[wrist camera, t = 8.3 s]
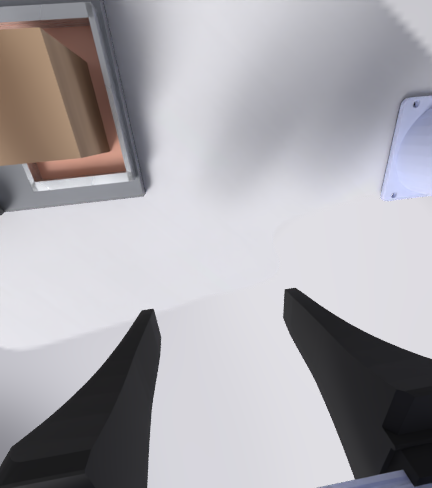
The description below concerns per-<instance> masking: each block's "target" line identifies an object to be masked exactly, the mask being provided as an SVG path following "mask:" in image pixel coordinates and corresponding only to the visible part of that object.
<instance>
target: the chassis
mask: <svg viewBox="0 0 432 488" xmlns="http://www.w3.org/2000/svg"><path fill="white" fill-rule="evenodd" d="M35 27H40V28H41V29H43V30H44V31H45V32H47V33H48V34H49V35H51V36H52V37H53V38H55V39H56V40H58V41H59V42H60V43H62V44H63V45H64V46H66V47H67V48H68V49H70V50H71V51H72V52H74V53H75V54H76V55H78V56H79V57H81V58H82V59H83V60H85V61H86V62H87V65H88V69H89V72H90V76H91V80H92V84H93V88H94V91H95V95H96V99H97V103H98V107H99V110H100V114H101V118H102V122H103V126H104V129H105V133H106V137H107V141H108V145H109V148H110V152H106V153H102V154H97V155H93V156H88V157H84V158H77V159H67V160H56V161H46V162H36V163H26V164H16V165H5V166H0V215H2V214H3V213H4V212H11V211H20V210H29V209H37V208H46V207H55V206H64V205H72V204H81V203H90V202H99V201H107V200H116V199H125V198H134V197H142V196H144V195H145V189H144V184H143V180H142V175H141V171H140V166H139V162H138V157H137V153H136V148H135V144H134V139H133V134H132V130H131V125H130V121H129V116H128V112H127V107H126V103H125V98H124V94H123V89H122V85H121V80H120V76H119V71H118V66H117V62H116V57H115V53H114V48H113V44H112V39H111V35H110V30H109V26H108V21H107V17H106V12H105V8H104V3H103V0H0V30H1V29H18V28H35Z"/></svg>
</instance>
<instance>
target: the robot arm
mask: <svg viewBox="0 0 432 488" xmlns="http://www.w3.org/2000/svg"><path fill="white" fill-rule="evenodd" d="M414 102H415V106H414V107H413V104H414ZM392 193H393V195H392ZM391 195H392V196H391ZM424 196H432V95H430V96H420V97H410V98H406V99H405V100H403V102H402V103H401V106H400V110H399V115H398V119H397V124H396V128H395V133H394V137H393V142H392V146H391V151H390V155H389V160H388V164H387V169H386V173H385V178H384V182H383V187H382V191H381V199H382V200H384V201H392V200H400V199H408V198H416V197H424ZM283 318H284V321H285V323H286V326H287V328H288V331H289V333H290V335H291V337H292V339H293V341H294V343H295V344H296V346H297V348H298V350H299V352H300V353H301V355H302V357H303V359H304V360H305V362H306V364H307V366H308V368H309V370H310V371H311V373H312V375H313V377H314V379H315V381H316V383H317V385H318V388H319V390H320V392H321V395H322V397H323V399H324V401H325V404H326V406H327V409H328V411H329V413H330V416H331V418H332V420H333V423H334V425H335V428H336V430H337V433H338V435H339V438H340V440H341V443H342V446H343V448H344V450H345V453H346V456H347V459H348V461H349V464H350V467H351V470H352V472H353V475H354V478H355V480H351V481H346V482H342V483H337V484H332V485H328V486H323V487H318V488H432V359H430V358H426V357H423V356H421V355H418V354H415V353H413V352H410V351H407V350H405V349H402V348H399V347H397V346H395V345H392V344H390V343H387V342H385V341H383V340H381V339H379V338H376V337H374V336H372V335H370V334H368V333H366V332H364V331H362V330H360V329H358V328H356V327H355V326H353V325H351V324H349V323H347V322H345V321H344V320H342V319H341V318H339V317H337V316H336V315H334V314H333V313H331V312H329V311H328V310H326V309H325V308H323V307H322V306H320V305H319V304H318V303H316V302H315V301H313V300H312V299H311V298H309V297H308V296H306V295H305V294H304V293H302V292H301V291H299V290H298V289H296V288H291V289H285V294H284V314H283ZM160 348H161V335H160V331H159V327H158V324H157V320H156V316H155V312H154V309H148V310H142V311H141V312H140V314H139V315H138V317H137V319H136V320H135V322H134V323H133V325H132V326H131V328H130V329H129V331H128V332H127V334H126V335H125V336H124V338H123V339H122V341H121V342H120V344H119V345H118V346H117V347H116V349H115V350H114V351H113V353H112V354H111V355H110V356H109V358H108V359H107V360H106V362H105V363H104V364H103V365H102V366H101V368H100V369H99V370H98V371H97V372H96V373H95V374H94V375H93V376H92V377H91V379H90V380H89V381H88V382H87V383H86V384H85V385H84V386H83V387H82V388H81V389H80V390H79V391H78V392H77V393H76V394H75V395H74V396H72V397H71V398H70V399H69V400H68V401H67V402H66V403H65V404H64V405H63V406H62V407H61V408H60V409H58V410H57V411H56V412H55V413H54V414H53V415H51V416H50V417H49V418H48V419H47V420H45V421H44V422H43V423H42V424H41V425H39V426H38V427H37V428H35V429H34V430H33V431H32V432H30V433H29V434H28V435H27V436H25V437H24V438H23V439H21V440H20V441H19V442H18V443H16V444H15V445H14V446H12V447H11V449H10V451H9V452H8V454H7V456H6V457H5V459H4V461H3V462H2V464H1V466H0V488H147V479H148V477H147V476H148V457H149V455H148V454H149V440H150V439H149V438H150V425H151V410H152V403H153V396H154V390H155V384H156V378H157V372H158V365H159V359H160Z"/></svg>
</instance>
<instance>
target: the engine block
mask: <svg viewBox="0 0 432 488" xmlns="http://www.w3.org/2000/svg"><path fill="white" fill-rule="evenodd" d="M106 152H110V148H109V145H108V141H107V137H106V133H105V129H104V126H103V122H102V118H101V114H100V110H99V107H98V103H97V99H96V95H95V91H94V88H93V84H92V80H91V76H90V72H89V69H88V65H87V62H86V61H85V60H83V59H82V58H81V57H79V56H78V55H76V54H75V53H74V52H72V51H71V50H70V49H68V48H67V47H66V46H64V45H63V44H62V43H60V42H59V41H58V40H56V39H55V38H53V37H52V36H51V35H49V34H48V33H47V32H45V31H44V30H43V29H41V28H40V27H35V28H18V29H1V30H0V166H5V165H16V164H26V163H36V162H46V161H56V160H67V159H77V158H84V157H88V156H93V155H97V154H102V153H106Z"/></svg>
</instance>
